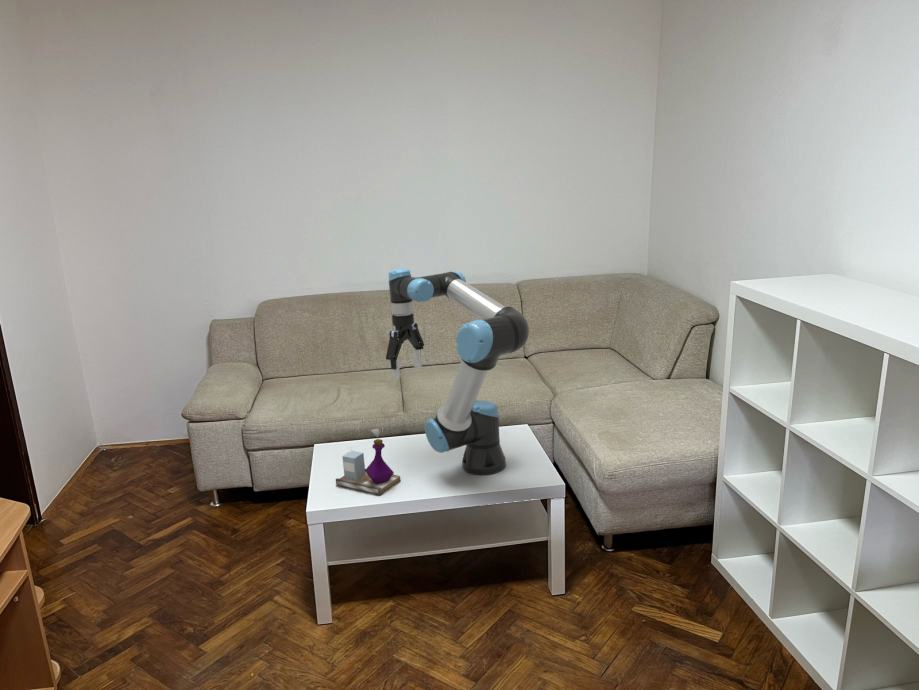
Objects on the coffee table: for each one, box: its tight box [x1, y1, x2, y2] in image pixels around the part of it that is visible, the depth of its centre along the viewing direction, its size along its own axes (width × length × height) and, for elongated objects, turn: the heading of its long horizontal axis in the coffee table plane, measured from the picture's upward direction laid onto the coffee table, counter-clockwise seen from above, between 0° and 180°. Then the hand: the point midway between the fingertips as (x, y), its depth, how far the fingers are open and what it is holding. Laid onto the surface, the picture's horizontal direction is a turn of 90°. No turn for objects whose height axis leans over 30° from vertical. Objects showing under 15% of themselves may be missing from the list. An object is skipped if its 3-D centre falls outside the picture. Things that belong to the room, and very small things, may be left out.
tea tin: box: [341, 450, 366, 481], centre depth 242 cm, size 5×5×8 cm
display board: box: [335, 468, 401, 497], centre depth 241 cm, size 18×12×3 cm, turn 60°
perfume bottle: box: [365, 428, 395, 484], centre depth 236 cm, size 8×8×18 cm
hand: (407, 372), depth 254 cm, fingers open, 13 cm apart
